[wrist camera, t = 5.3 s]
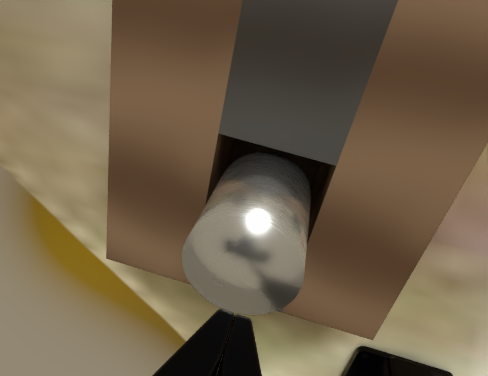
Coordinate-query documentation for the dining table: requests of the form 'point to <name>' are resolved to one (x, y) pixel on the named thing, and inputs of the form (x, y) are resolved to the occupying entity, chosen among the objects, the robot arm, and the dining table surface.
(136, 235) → the walnut block
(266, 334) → the dining table surface
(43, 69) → the dining table surface
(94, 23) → the dining table surface
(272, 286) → the peg
